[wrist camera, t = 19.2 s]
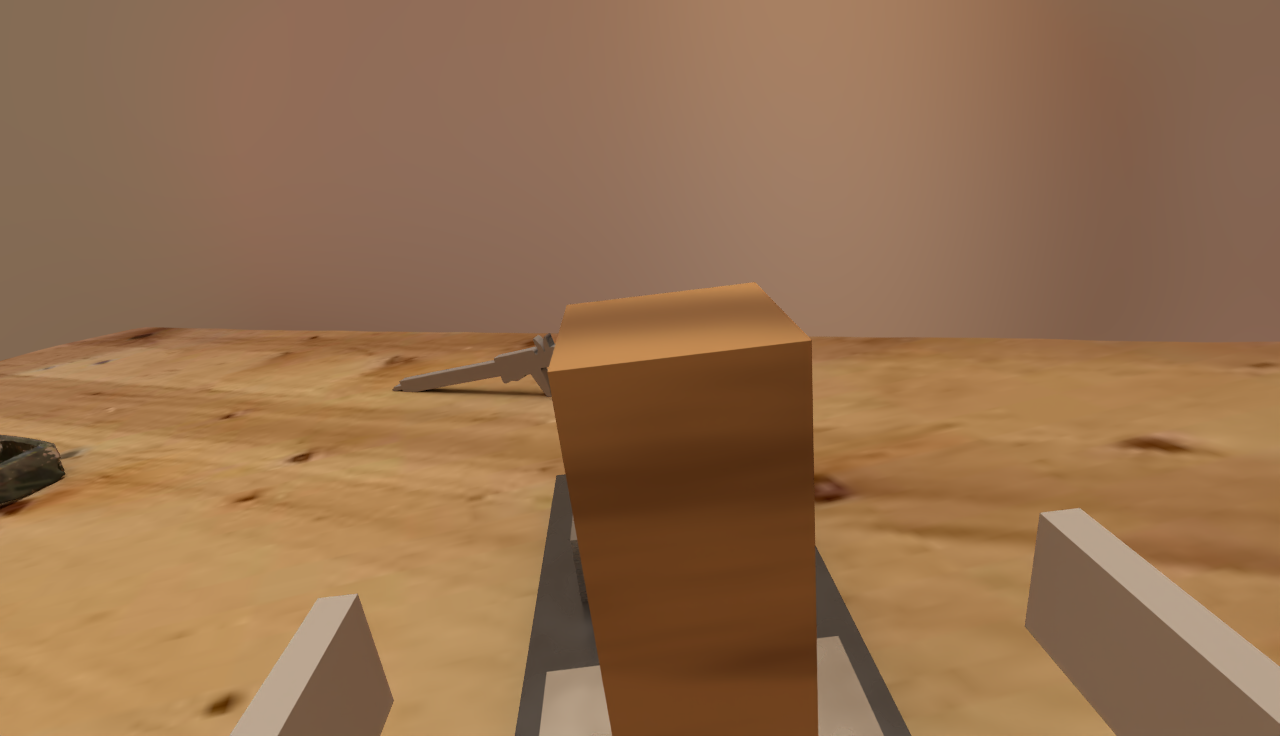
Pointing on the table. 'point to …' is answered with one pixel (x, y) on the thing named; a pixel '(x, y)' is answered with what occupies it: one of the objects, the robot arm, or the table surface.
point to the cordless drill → (27, 466)
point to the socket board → (570, 671)
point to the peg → (694, 508)
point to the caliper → (492, 369)
